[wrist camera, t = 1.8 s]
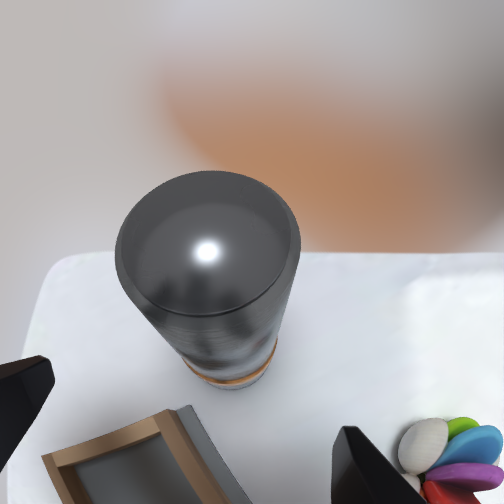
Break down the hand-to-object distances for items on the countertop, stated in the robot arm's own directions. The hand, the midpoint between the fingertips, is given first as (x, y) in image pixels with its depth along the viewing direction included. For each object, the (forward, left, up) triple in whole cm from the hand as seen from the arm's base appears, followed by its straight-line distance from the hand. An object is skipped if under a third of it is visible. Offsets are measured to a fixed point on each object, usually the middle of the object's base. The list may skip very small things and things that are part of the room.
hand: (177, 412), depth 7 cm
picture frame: (-7, -6, -11) cm, 14 cm away
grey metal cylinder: (+3, +4, -11) cm, 12 cm away
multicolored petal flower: (+9, -13, -12) cm, 19 cm away
